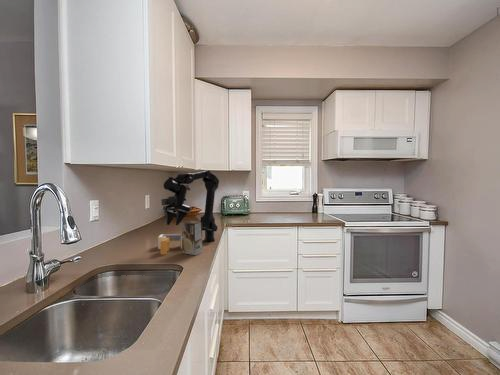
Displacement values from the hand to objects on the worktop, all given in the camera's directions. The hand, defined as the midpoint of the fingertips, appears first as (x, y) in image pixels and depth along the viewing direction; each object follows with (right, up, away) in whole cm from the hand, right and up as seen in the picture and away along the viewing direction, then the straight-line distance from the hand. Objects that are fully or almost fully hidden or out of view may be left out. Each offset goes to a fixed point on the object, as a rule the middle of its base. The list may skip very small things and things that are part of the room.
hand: (172, 225), depth 131 cm
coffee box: (+9, -15, +3) cm, 18 cm away
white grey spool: (-3, -14, +13) cm, 20 cm away
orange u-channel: (-5, -15, +3) cm, 16 cm away
